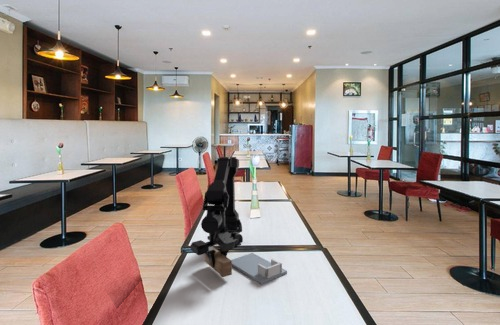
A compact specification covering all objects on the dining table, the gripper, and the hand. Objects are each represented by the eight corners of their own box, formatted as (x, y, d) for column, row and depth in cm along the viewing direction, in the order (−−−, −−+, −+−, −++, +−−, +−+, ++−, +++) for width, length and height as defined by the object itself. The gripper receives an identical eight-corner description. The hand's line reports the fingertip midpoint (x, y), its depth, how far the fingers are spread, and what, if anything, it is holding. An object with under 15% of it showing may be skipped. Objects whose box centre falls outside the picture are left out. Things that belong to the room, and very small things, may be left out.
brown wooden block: (205, 261, 117) (205, 249, 117) (213, 259, 119) (213, 247, 119) (222, 277, 106) (222, 263, 105) (231, 274, 108) (231, 260, 107)
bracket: (228, 263, 120) (227, 252, 120) (252, 255, 128) (252, 244, 127) (261, 284, 105) (261, 271, 104) (287, 273, 112) (287, 261, 111)
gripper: (205, 235, 98) (206, 282, 100) (251, 223, 110) (252, 265, 112) (189, 226, 107) (190, 269, 109) (233, 216, 118) (234, 255, 121)
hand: (218, 265), depth 112 cm, fingers closed on brown wooden block, 4 cm apart
